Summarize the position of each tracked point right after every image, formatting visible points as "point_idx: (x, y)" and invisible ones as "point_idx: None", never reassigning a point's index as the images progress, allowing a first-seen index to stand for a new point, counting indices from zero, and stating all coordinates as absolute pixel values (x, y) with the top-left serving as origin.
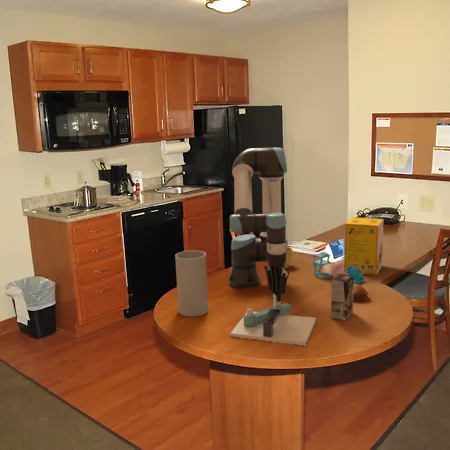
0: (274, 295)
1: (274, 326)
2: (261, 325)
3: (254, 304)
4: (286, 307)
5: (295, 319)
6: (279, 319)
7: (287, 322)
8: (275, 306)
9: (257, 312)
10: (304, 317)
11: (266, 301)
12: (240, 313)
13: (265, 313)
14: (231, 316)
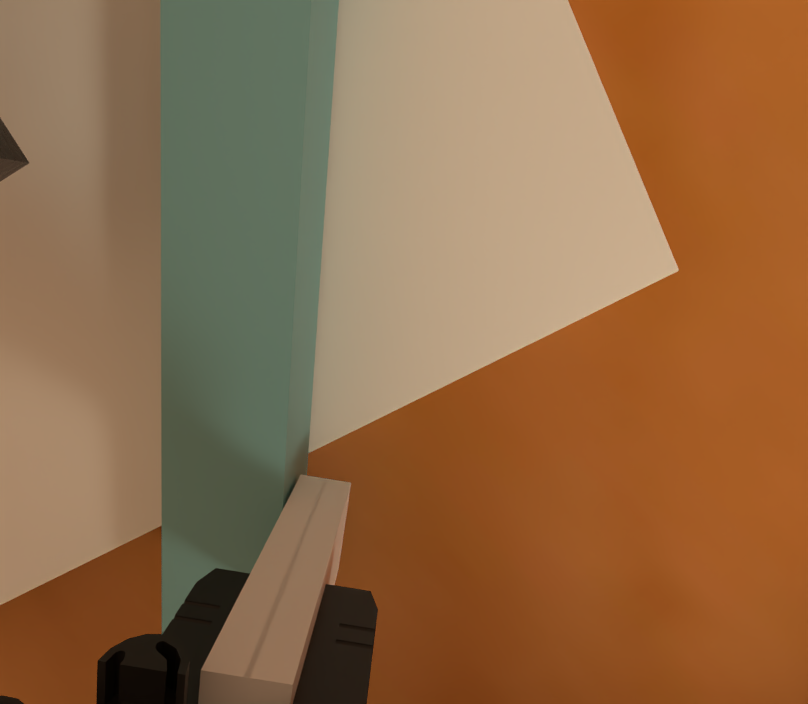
0: (249, 645)
1: (14, 123)
2: (158, 9)
3: (790, 552)
4: (168, 585)
5: (21, 477)
6: (147, 347)
7: (11, 345)
8: (281, 496)
9: (306, 77)
10: (2, 584)
11: (723, 695)
12: (762, 224)
13: (166, 148)
14: (805, 51)
